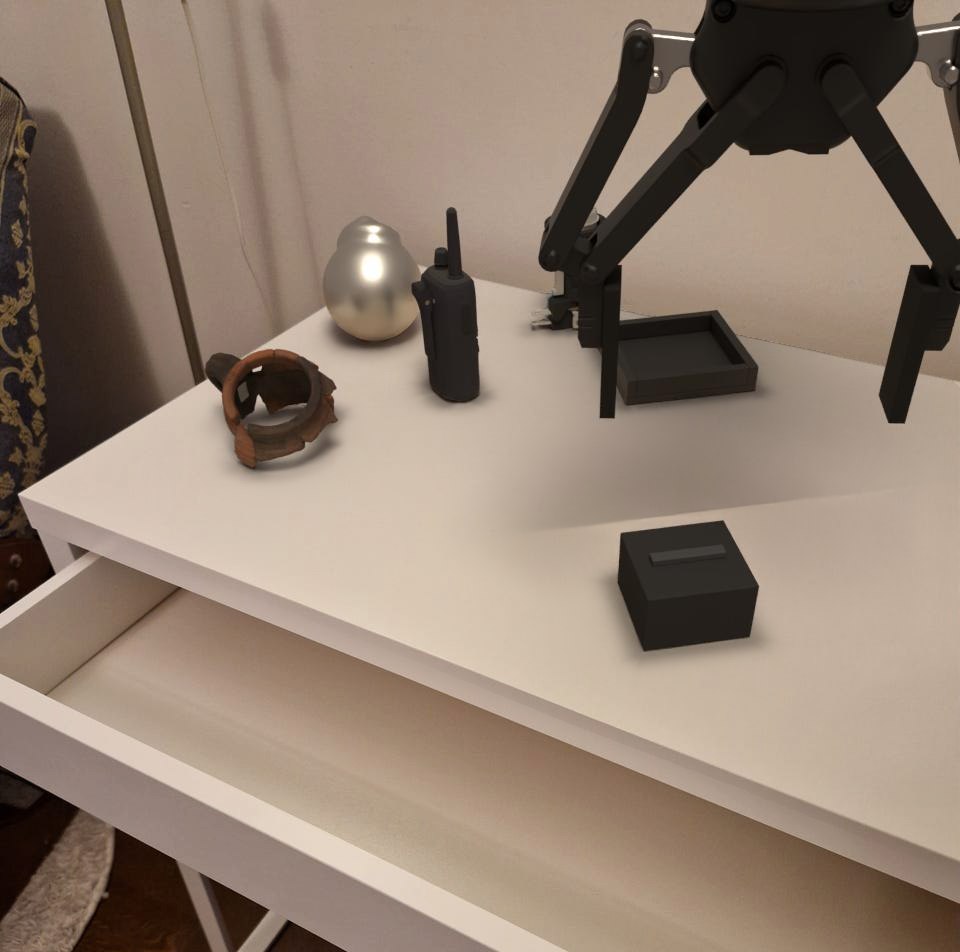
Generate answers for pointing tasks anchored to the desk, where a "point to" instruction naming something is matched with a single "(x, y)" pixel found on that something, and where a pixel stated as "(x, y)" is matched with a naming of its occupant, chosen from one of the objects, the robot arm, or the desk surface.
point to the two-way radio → (449, 320)
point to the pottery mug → (272, 400)
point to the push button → (566, 288)
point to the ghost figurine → (371, 281)
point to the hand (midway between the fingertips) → (747, 407)
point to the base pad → (681, 358)
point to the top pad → (686, 585)
